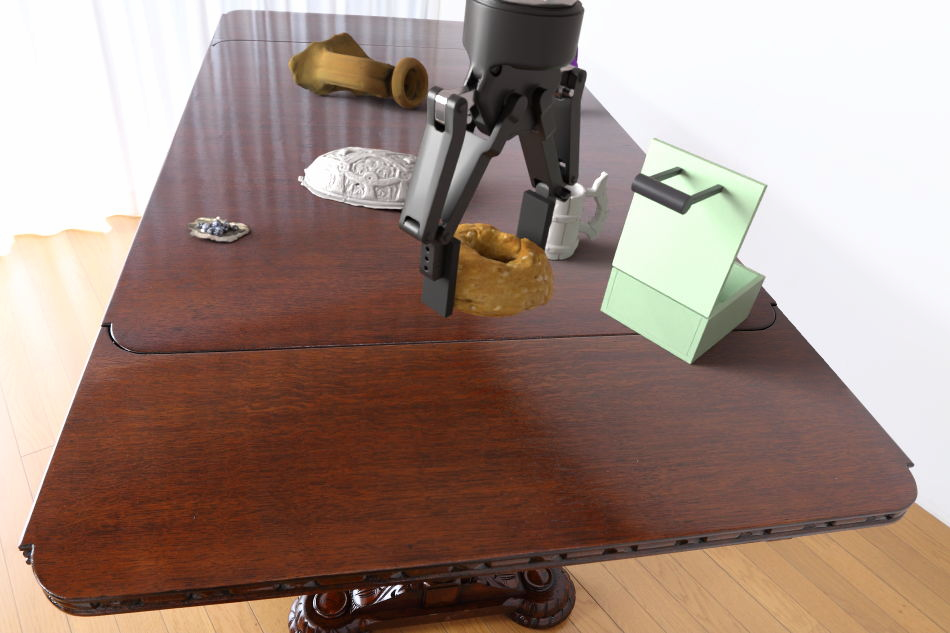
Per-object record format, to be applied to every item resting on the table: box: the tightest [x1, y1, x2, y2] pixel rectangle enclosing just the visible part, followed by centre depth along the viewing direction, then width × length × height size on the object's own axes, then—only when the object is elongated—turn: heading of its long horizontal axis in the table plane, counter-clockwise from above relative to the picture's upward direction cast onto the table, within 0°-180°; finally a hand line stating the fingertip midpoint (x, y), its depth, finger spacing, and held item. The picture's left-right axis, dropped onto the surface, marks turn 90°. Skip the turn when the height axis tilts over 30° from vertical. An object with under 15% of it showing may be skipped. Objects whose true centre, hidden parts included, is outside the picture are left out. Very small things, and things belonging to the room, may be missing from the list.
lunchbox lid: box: [612, 137, 769, 318], centre depth 74 cm, size 16×14×10 cm
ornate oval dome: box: [297, 146, 417, 210], centre depth 108 cm, size 16×25×7 cm, turn 84°
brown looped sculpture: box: [288, 31, 429, 110], centre depth 137 cm, size 18×13×22 cm
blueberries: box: [187, 216, 251, 243], centre depth 93 cm, size 7×8×2 cm
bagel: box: [453, 222, 555, 319], centre depth 54 cm, size 10×11×5 cm
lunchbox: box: [600, 260, 766, 365], centre depth 89 cm, size 16×14×7 cm
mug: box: [545, 171, 610, 261], centre depth 98 cm, size 8×12×12 cm, turn 106°
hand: (484, 285), depth 56 cm, fingers closed on bagel, 10 cm apart
